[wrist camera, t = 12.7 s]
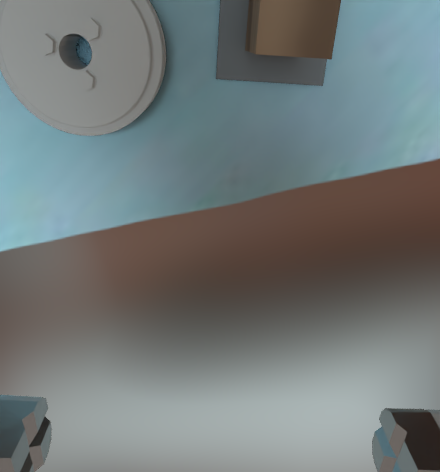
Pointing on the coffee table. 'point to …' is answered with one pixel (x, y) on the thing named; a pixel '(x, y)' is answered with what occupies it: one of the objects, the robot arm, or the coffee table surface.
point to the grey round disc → (73, 69)
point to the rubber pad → (254, 65)
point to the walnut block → (292, 27)
